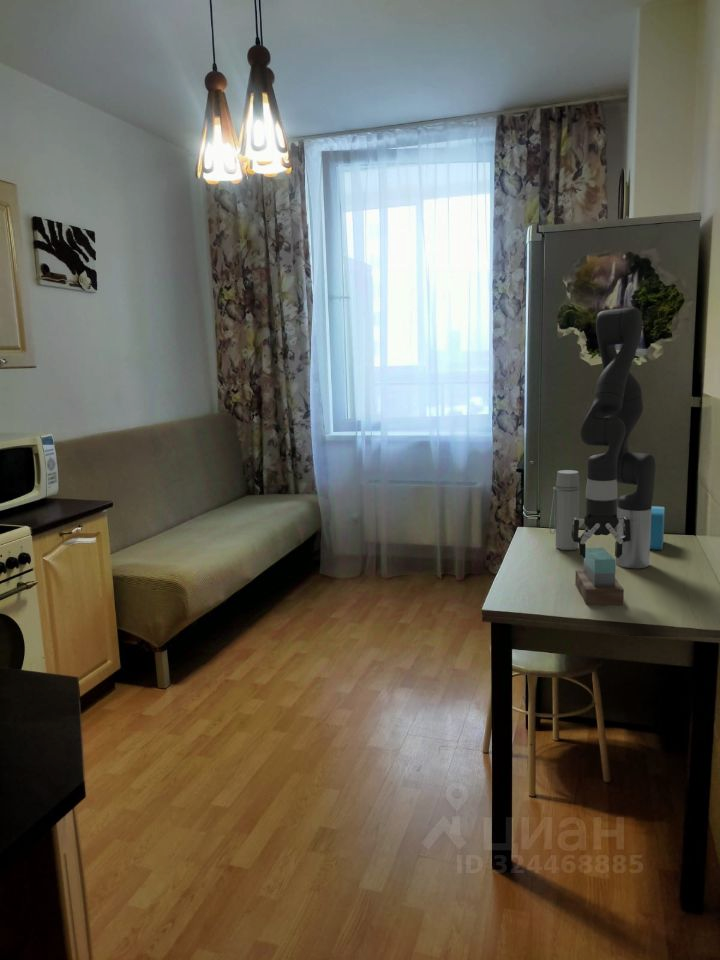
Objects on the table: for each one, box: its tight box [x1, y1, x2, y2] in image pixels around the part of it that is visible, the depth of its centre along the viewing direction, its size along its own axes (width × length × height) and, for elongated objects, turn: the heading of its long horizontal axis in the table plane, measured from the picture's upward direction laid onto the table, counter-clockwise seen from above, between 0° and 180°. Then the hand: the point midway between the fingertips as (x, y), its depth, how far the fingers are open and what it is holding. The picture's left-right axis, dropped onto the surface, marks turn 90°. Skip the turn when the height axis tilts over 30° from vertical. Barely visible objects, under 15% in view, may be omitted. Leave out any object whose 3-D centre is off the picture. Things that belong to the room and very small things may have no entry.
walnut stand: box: [574, 570, 625, 606], centre depth 178 cm, size 15×9×4 cm, turn 172°
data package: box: [650, 505, 666, 551], centre depth 218 cm, size 12×4×12 cm, turn 155°
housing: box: [583, 547, 616, 587], centre depth 177 cm, size 5×11×7 cm, turn 176°
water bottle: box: [548, 469, 581, 551], centre depth 218 cm, size 9×8×25 cm
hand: (600, 556), depth 176 cm, fingers open, 8 cm apart
